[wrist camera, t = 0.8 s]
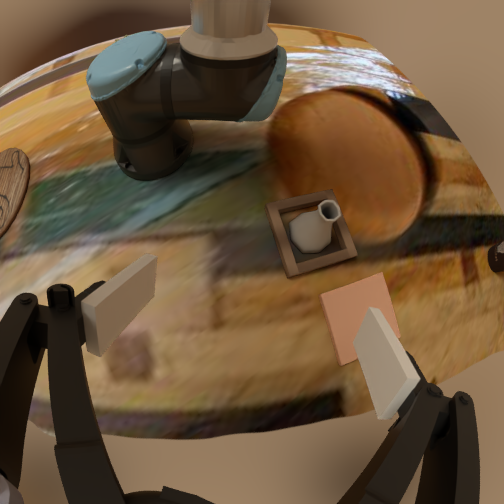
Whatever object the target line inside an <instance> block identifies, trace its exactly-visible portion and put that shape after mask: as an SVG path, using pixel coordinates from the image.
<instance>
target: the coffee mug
mask: <svg viewBox="0 0 504 504" xmlns="http://www.w3.org/2000/svg"><path fill="white" fill-rule="evenodd" d="M488 262H489V266H490V268H491V270H492V271H493V272H501V271H504V240H503V241H501V242H499V243H498V244H496V245H494V246H493V247H491V248H490V249H489V251H488Z"/></svg>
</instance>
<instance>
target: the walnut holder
mask: <svg viewBox="0 0 504 504" xmlns="http://www.w3.org/2000/svg"><path fill="white" fill-rule="evenodd" d="M324 200H334V201H335V202H336V204H337V205H338V206H339V204H338V202H337V199H336V197H335V195H334V192H333V190H332V189H330V190H325V191H320V192H316V193H311V194H306V195H302V196H297V197H293V198H288V199H284V200H279V201H275V202H271V203H266V205H265V208H264V209H265V212H266V215H267V218H268V221H269V224H270V227H271V230H272V233H273V236H274V239H275V242H276V245H277V248H278V251H279V254H280V257H281V260H282V263H283V266H284V269H285V273H286V276H287V278H290V277H293V276H296V275H300V274H303V273H306V272H309V271H313V270H316V269H319V268H322V267H325V266H329V265H332V264H335V263H338V262H341V261H344V260H347V259H350V258H353V257H355V256H357V255H358V254H357V251H356V249H355V246H354V243H353V240H352V238H351V235H350V232H349V230H348V227H347V224H346V222H345V219H344V217H343V214H342V212H341V209H340V212H341V217H339V218H338V219H337V220H336V221H335V222H333V224H332V225H333V227H334V230H335V233H336V235H337V238H338V241H339V244H340V246H341V249H342V250H341V251H338V252H334V253H331V254H328V255H325V256H321V257H318V258H315V259H311V260H308V261H305V262H301V263H298V264H296V262H295V259H294V256H293V253H292V250H291V247H290V244H289V241H288V238H287V235H286V232H285V229H284V226H283V223H282V220H281V217H280V215H279V214H280V213H284V212H289V211H293V210H297V209H301V208H306V207H310V206H314V205H318V204H320V203H322V202H323V201H324Z"/></svg>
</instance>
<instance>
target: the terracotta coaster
mask: <svg viewBox="0 0 504 504" xmlns="http://www.w3.org/2000/svg"><path fill="white" fill-rule="evenodd" d="M318 296H319V299H320V302H321V305H322V309H323V312H324V315H325V318H326V322H327V325H328V328H329V332H330V335H331V339H332V342H333V346H334V349H335V353H336V356H337V360H338V364H339V365H341V366H342V365H345V364H347V363H349V362H352V361H354V360H356V359H358V356H357V353H356V351H355V348H354V345H353V341H354V339H355V337H356V335H357V332H358V330H359V328H360V326H361V324H362V322H363V319H364V317H365V315H366V312H367V310H368V308H369V307H373V308H378V309H380V311H381V312H382V314H383V315H384V317H385V319H386V320H387V322H388V323H389V325H390V327H391V328H392V330H393V332H394V333H395V335H396V337H397V338H398V339H399V338H401V336H400V332H399V328H398V324H397V321H396V317H395V313H394V310H393V306H392V303H391V299H390V296H389V292H388V289H387V286H386V283H385V280H384V276H383V273H382V272H381V273H378V274H375V275H373V276H370V277H367V278H365V279H362V280H359V281H357V282H354V283H351V284H348V285H346V286H343V287H340V288H337V289H334V290H332V291H329V292H326V293H323V294H320V295H318Z"/></svg>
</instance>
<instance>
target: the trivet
mask: <svg viewBox="0 0 504 504" xmlns="http://www.w3.org/2000/svg"><path fill="white" fill-rule="evenodd" d="M29 178H30V164H29V160H28V157H27V156H26V155H25V153H24V152H23V151H22V150H20V149H18V148H9V149H7V150H4V151H2V152H1V153H0V238H1V237H2V236H3V234H4V233H5V232H6V231H7V230H8V228H9V227H10V225H11V224H12V222H13V221H14V219H15V218H16V216H17V213H18V211H19V209H20V207H21V205H22V203H23V200H24V197H25V194H26V192H27V188H28V183H29Z"/></svg>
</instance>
